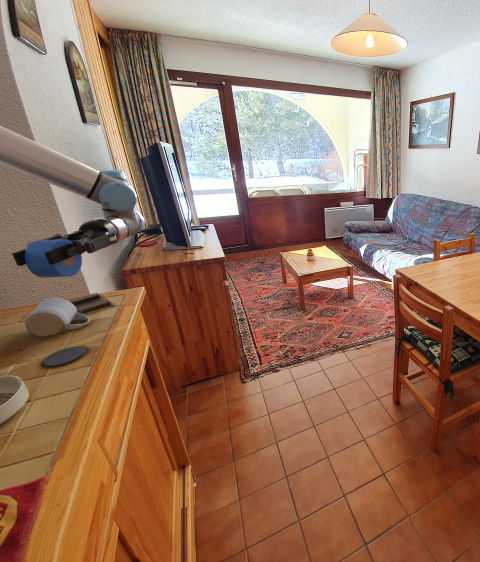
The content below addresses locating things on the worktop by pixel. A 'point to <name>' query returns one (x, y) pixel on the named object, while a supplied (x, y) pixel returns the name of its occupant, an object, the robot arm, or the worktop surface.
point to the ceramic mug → (53, 317)
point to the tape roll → (39, 261)
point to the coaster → (64, 356)
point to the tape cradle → (89, 302)
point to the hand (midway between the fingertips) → (33, 259)
